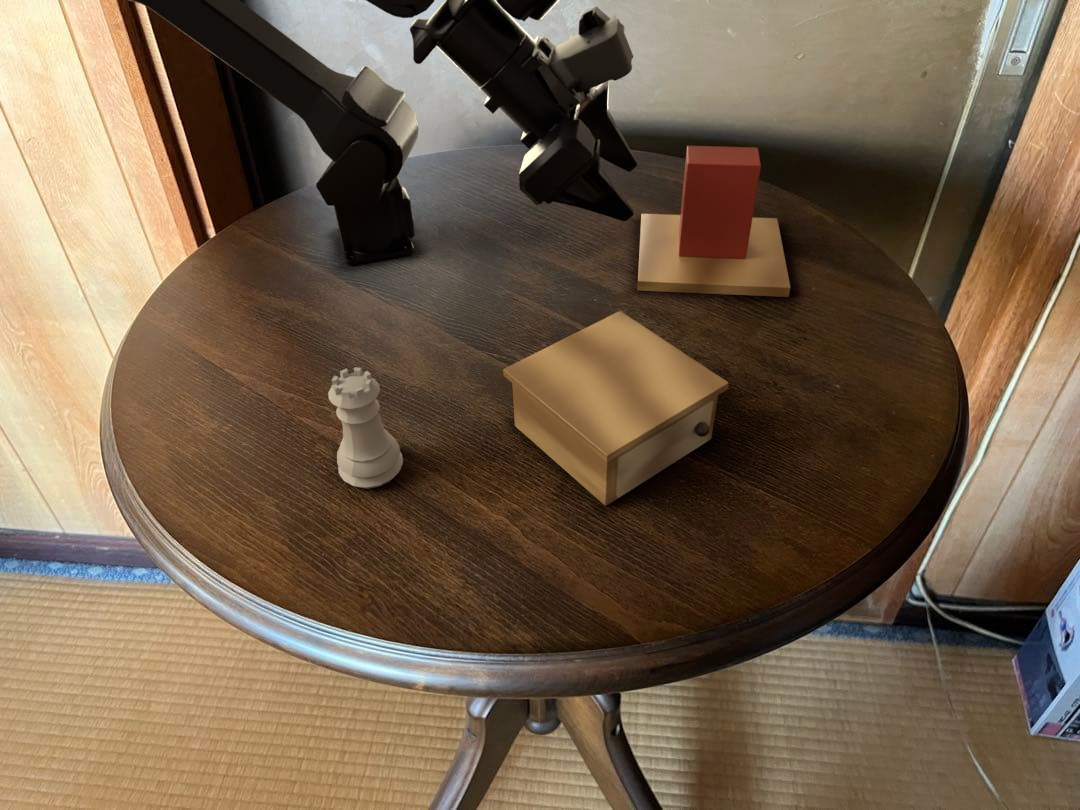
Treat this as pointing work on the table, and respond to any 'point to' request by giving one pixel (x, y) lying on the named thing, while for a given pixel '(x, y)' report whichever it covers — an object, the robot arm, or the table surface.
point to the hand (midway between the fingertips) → (632, 191)
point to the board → (711, 262)
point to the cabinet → (614, 404)
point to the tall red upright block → (718, 201)
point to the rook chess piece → (363, 432)
